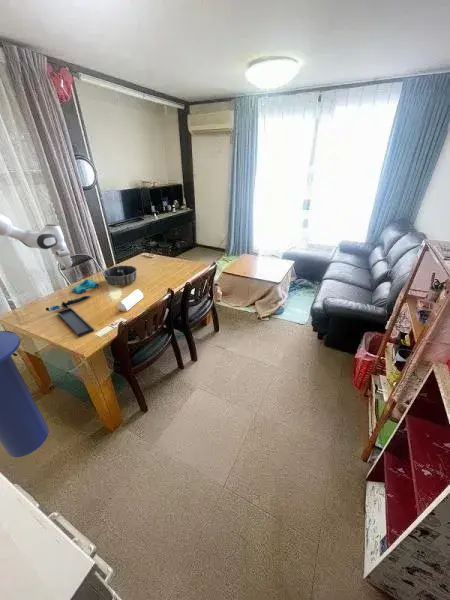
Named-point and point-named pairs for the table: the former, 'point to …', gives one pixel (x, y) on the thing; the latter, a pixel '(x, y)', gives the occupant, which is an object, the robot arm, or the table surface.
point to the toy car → (85, 286)
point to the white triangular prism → (130, 300)
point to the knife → (67, 303)
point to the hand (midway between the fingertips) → (65, 270)
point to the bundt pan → (120, 275)
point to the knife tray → (75, 322)
